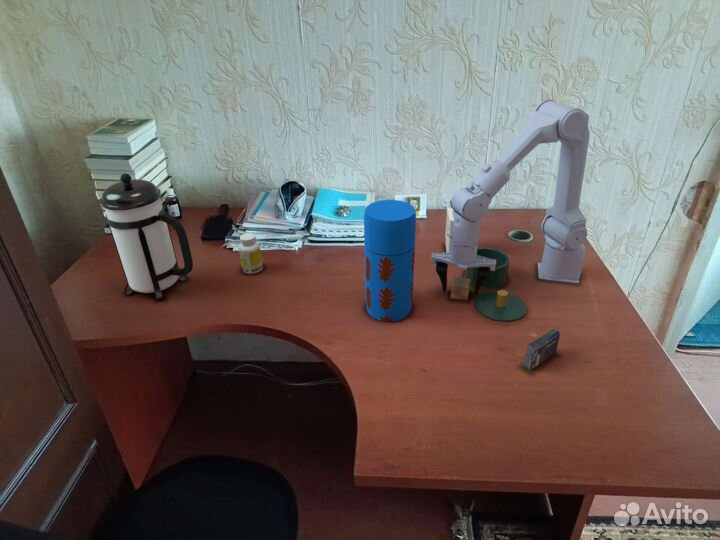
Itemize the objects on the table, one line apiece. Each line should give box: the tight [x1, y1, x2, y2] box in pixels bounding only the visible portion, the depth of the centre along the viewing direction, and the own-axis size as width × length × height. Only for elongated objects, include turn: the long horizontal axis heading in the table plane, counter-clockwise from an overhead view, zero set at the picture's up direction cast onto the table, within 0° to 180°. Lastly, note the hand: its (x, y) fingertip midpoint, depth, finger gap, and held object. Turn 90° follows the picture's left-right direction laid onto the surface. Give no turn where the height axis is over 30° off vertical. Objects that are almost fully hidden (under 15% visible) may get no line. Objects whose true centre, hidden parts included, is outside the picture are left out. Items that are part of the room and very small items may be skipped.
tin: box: [463, 247, 510, 289], centre depth 124 cm, size 10×10×6 cm
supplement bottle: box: [238, 232, 264, 275], centre depth 129 cm, size 5×5×10 cm
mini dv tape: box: [523, 328, 561, 371], centre depth 97 cm, size 8×2×6 cm, turn 126°
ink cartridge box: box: [444, 206, 454, 253], centre depth 133 cm, size 9×5×15 cm, turn 178°
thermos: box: [363, 199, 417, 322], centre depth 109 cm, size 11×11×25 cm
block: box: [450, 276, 471, 301], centre depth 118 cm, size 4×4×4 cm
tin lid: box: [474, 289, 528, 323], centre depth 113 cm, size 11×11×4 cm
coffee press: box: [99, 173, 194, 302], centre depth 118 cm, size 17×16×30 cm
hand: (460, 291), depth 118 cm, fingers open, 7 cm apart
